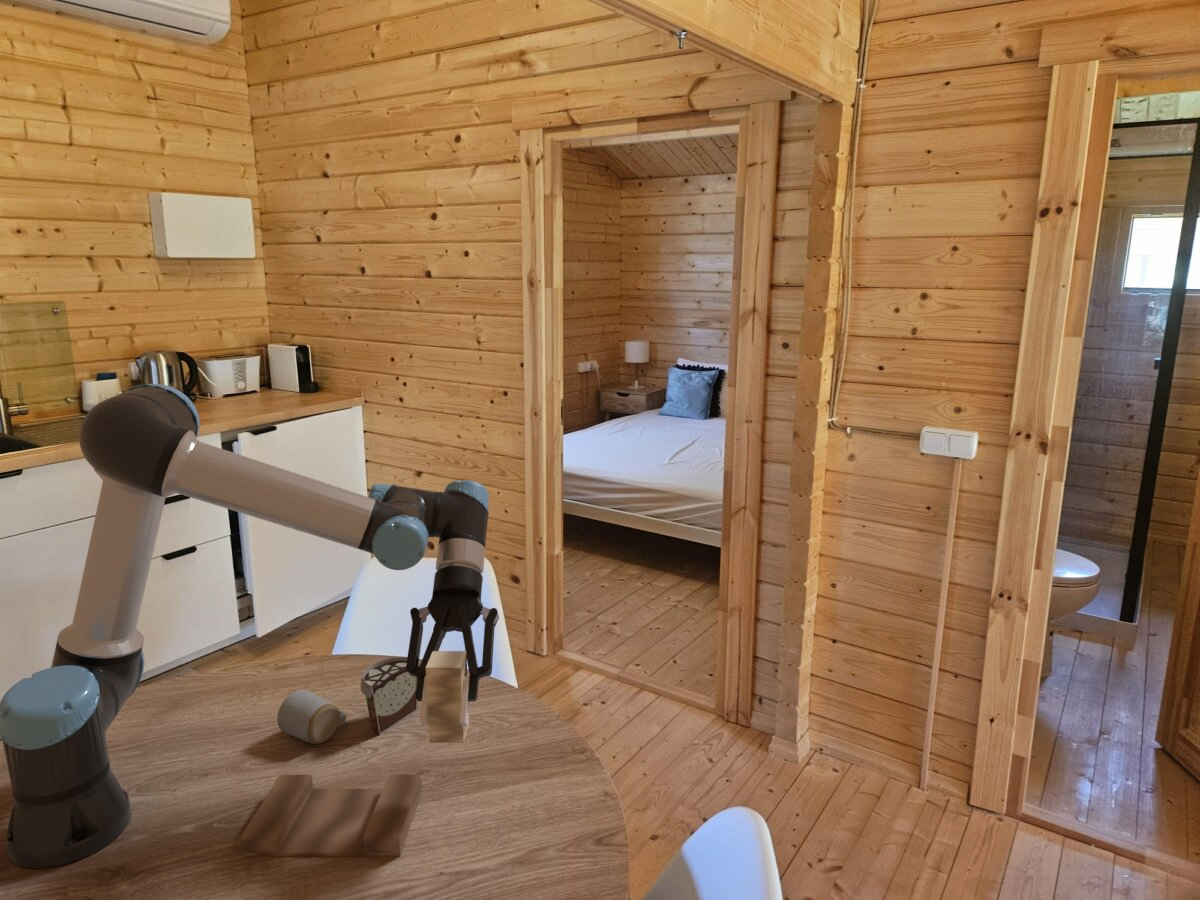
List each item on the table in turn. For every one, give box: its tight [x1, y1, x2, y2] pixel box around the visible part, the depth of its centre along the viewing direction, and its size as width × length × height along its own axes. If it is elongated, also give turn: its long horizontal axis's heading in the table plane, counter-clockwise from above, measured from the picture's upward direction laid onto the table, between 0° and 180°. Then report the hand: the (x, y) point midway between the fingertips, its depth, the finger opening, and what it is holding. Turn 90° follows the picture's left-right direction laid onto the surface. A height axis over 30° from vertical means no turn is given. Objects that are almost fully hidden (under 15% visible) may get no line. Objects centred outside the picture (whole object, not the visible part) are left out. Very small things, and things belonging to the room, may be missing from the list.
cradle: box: [240, 774, 423, 857], centre depth 119 cm, size 22×14×3 cm, turn 90°
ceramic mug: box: [276, 689, 347, 745], centre depth 141 cm, size 11×8×8 cm
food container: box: [359, 656, 421, 736], centre depth 145 cm, size 12×6×10 cm, turn 149°
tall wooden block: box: [426, 650, 470, 744], centre depth 119 cm, size 5×5×12 cm
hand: (443, 723), depth 116 cm, fingers closed on tall wooden block, 5 cm apart
